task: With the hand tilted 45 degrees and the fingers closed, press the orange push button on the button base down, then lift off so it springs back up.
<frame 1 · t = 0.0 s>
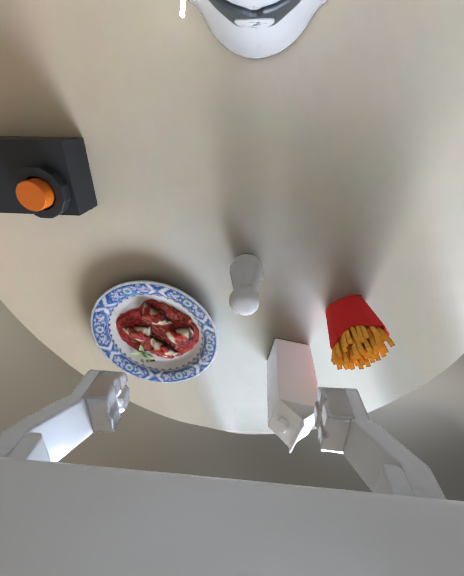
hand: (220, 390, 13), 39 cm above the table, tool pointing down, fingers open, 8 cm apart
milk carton: (287, 353, 62), on the table
ceramic plate: (157, 329, 62), on the table
orange push button: (35, 194, 41), point 8 cm above the table, slide at 0.1 cm
salt shaker: (247, 264, 53), on the table
button base: (48, 172, 48), on the table
french fries: (343, 307, 56), on the table
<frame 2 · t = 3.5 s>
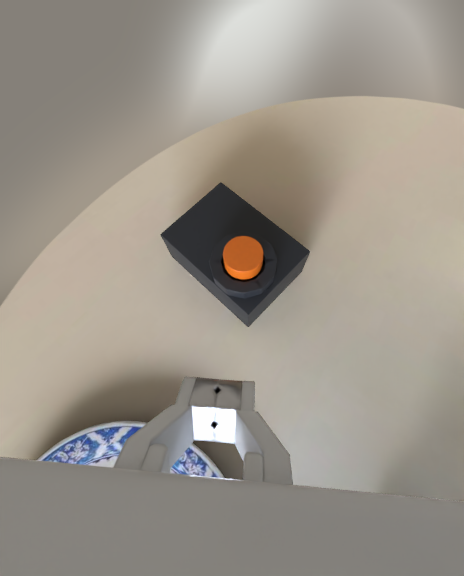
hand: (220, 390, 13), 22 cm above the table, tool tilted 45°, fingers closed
ceramic plate: (120, 564, 29), on the table
orange push button: (243, 258, 31), point 8 cm above the table, slide at 0.1 cm
button base: (235, 263, 39), on the table
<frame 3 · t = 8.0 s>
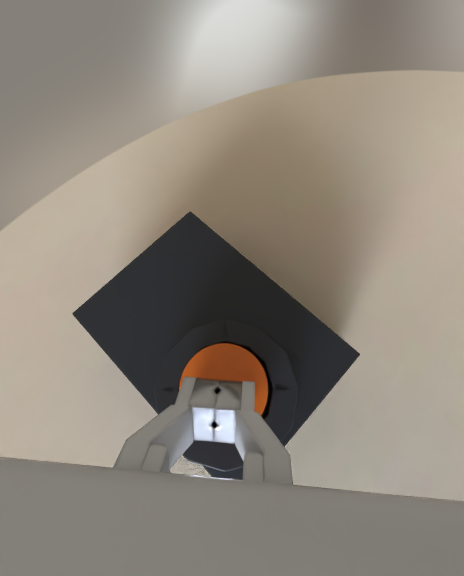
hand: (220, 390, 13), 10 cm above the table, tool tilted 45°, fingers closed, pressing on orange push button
orange push button: (224, 388, 14), point 8 cm above the table, slide at -0.2 cm, touching gripper
button base: (218, 348, 23), on the table
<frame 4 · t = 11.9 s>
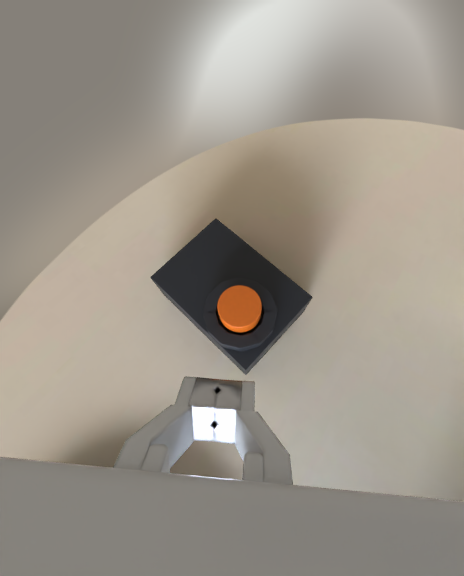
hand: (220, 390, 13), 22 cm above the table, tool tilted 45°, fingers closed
orange push button: (239, 309, 28), point 8 cm above the table, slide at 0.1 cm
button base: (231, 303, 37), on the table
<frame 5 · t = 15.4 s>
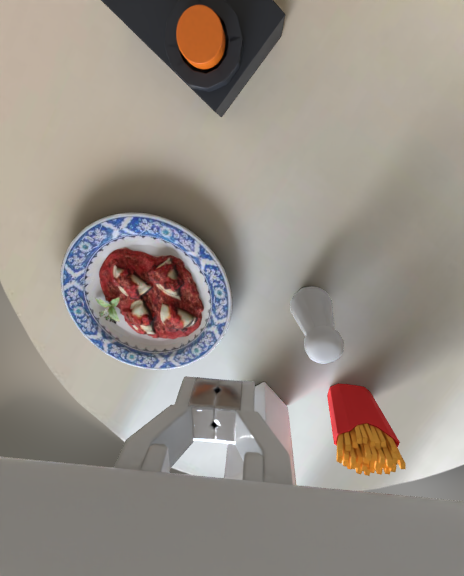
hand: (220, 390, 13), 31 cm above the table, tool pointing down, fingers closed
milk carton: (260, 401, 54), on the table
ceramic plate: (150, 293, 47), on the table
orange push button: (201, 39, 26), point 8 cm above the table, slide at 0.1 cm
salt shaker: (308, 297, 45), on the table
button base: (202, 28, 33), on the table
french fries: (346, 393, 52), on the table
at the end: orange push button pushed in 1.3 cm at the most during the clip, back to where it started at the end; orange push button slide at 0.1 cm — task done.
